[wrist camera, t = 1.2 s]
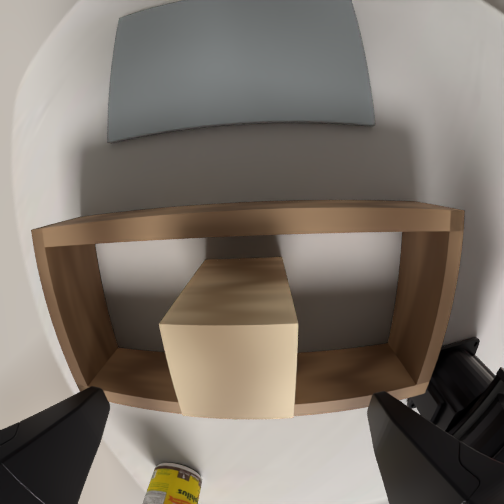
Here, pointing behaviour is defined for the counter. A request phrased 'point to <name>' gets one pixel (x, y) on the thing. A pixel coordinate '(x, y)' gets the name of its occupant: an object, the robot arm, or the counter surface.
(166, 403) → the walnut crate
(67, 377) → the counter surface
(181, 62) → the slate mat
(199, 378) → the maple block
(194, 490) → the supplement bottle
